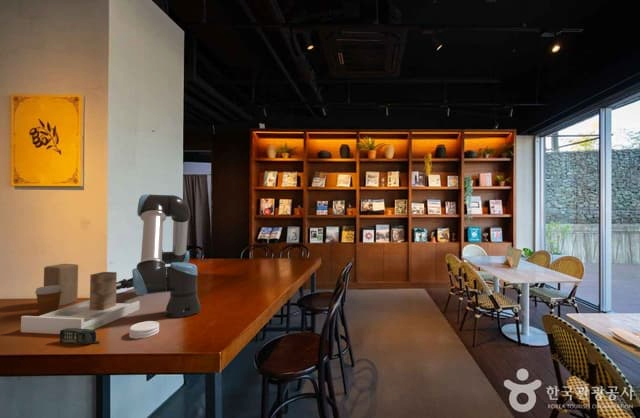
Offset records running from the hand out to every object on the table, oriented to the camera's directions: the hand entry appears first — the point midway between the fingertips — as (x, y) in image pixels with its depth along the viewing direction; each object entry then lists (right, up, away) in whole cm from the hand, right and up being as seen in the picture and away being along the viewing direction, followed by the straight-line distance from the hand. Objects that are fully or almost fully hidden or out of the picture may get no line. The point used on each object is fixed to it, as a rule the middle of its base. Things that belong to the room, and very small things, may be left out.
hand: (109, 289), depth 141 cm
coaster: (+34, -10, -28) cm, 45 cm away
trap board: (-1, -10, -13) cm, 16 cm away
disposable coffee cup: (-25, -10, -5) cm, 27 cm away
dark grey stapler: (+16, -10, -36) cm, 41 cm away
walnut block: (0, -7, -5) cm, 9 cm away
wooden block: (-32, -10, +9) cm, 34 cm away
